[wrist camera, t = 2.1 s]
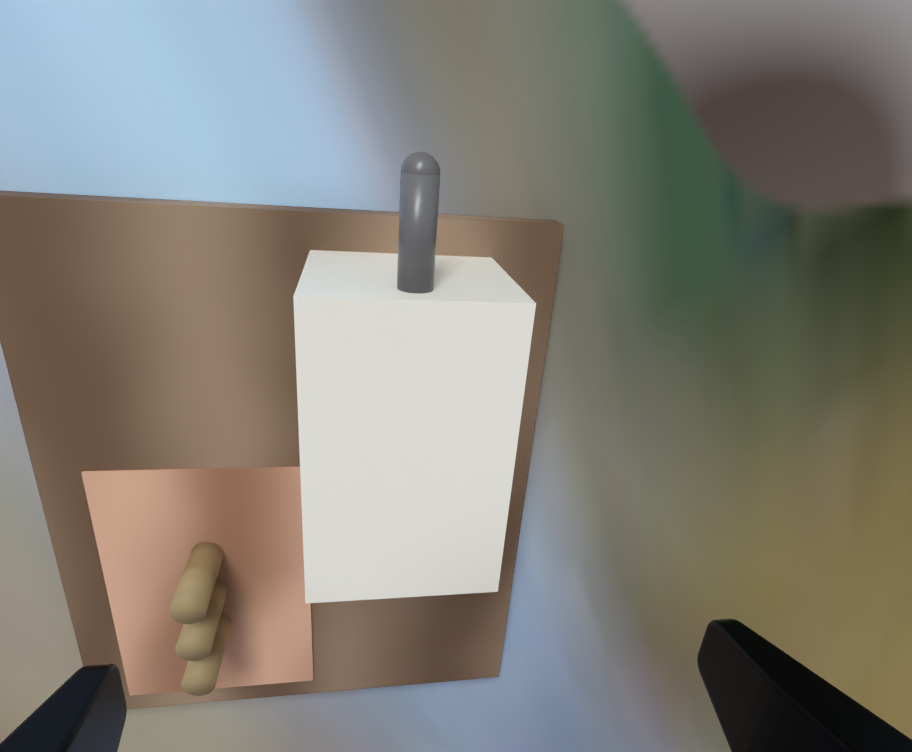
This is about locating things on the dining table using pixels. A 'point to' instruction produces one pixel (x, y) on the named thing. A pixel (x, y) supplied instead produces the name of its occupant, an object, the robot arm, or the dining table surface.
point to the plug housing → (407, 410)
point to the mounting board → (217, 442)
